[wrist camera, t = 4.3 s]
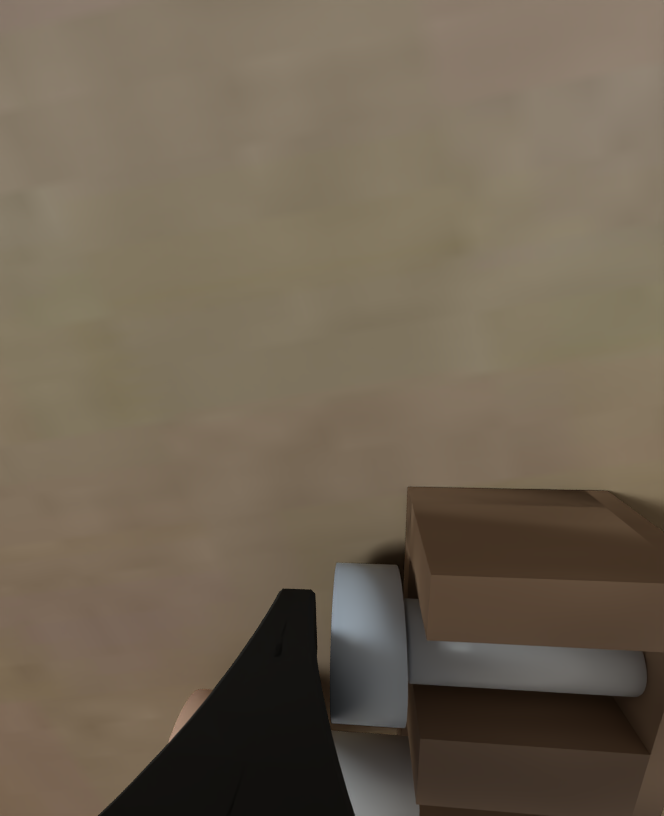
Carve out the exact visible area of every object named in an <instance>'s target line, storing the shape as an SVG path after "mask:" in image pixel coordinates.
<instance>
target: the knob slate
mask: <svg viewBox="0 0 664 816" xmlns="http://www.w3.org/2000/svg"><path fill="white" fill-rule="evenodd" d="M408 681H409V683H410V684H423V685H439V686H456V687H473V688H490V689H507V690H524V691H540V692H557V693H574V694H591V695H608V696H624V697H638V696H640V695H641V694H643V692H644V690H645V688H646V683H647V669H646V663H645V659H644V655H643V652H642V651H627V650H607V649H587V648H567V647H547V646H528V645H508V644H488V643H468V642H448V641H428V640H427V639H426V634H425V629H424V624H423V619H422V614H421V609H420V604H419V599H409V598H405V599H404V601H403V592H402V584H401V578H400V572H399V569H398V566H397V565H389V564H361V563H337V564H336V569H335V578H334V590H333V605H332V625H331V655H330V714H331V723H336V724H350V725H365V726H379V727H394V728H405V727H406V722H407V709H408Z"/></svg>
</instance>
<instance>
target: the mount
mask: <svg viewBox="0 0 664 816" xmlns="http://www.w3.org/2000/svg"><path fill="white" fill-rule="evenodd" d="M405 598H409V599H419V604H420V609H421V614H422V619H423V624H424V629H425V634H426V639H427V640H428V641H448V642H468V643H488V644H508V645H528V646H547V647H567V648H587V649H607V650H627V651H642V652H643V655H644V659H645V663H646V669H647V683H646V688H645V690H644V692H643V694H641V695H640V696H638V697H624V696H608V695H591V694H574V693H557V692H540V691H524V690H507V689H490V688H473V687H456V686H439V685H423V684H410V683H409V681H408V709H407V722H406V727H405V728H398V729H397V735H402V736H408V737H409V746H410V755H411V764H412V773H413V782H414V790H415V799H416V804H418V805H419V816H661V813H662V810H663V807H664V532H663V531H662V530H660V529H659V528H658V527H656V526H655V525H653V524H652V523H651V522H649V521H648V520H647V519H645V518H644V517H643V516H641V515H640V514H639V513H637V512H636V511H634V510H633V509H632V508H630V507H629V506H628V505H626V504H625V503H624V502H622V501H621V500H620V499H618V498H617V497H616V496H614V495H613V494H611V493H610V492H609V491H588V490H536V489H483V488H431V487H408V490H407V514H406V538H405V562H404V585H403V601H404V599H405Z"/></svg>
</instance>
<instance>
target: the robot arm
mask: <svg viewBox="0 0 664 816" xmlns="http://www.w3.org/2000/svg"><path fill="white" fill-rule="evenodd" d="M98 816H355V813H354V810H353V807H352V804H351V801H350V798H349V795H348V791H347V788H346V784H345V781H344V777H343V774H342V770H341V767H340V763H339V760H338V756H337V752H336V748H335V744H334V740H333V736H332V732H331V728H330V724H329V720H328V715H327V711H326V706H325V702H324V697H323V692H322V687H321V681H320V676H319V670H318V663H317V627H316V600H315V593H314V592H313V591H312V590H305V589H282V590H281V591H280V592H279V593H278V595H277V597H276V599H275V600H274V602H273V604H272V606H271V607H270V609H269V611H268V612H267V614H266V616H265V617H264V619H263V620H262V622H261V623H260V625H259V627H258V628H257V630H256V631H255V633H254V634H253V636H252V637H251V639H250V640H249V641H248V643H247V644H246V646H245V647H244V649H243V650H242V652H241V653H240V654H239V656H238V657H237V659H236V660H235V662H234V663H233V664H232V666H231V667H230V668H229V670H228V671H227V672H226V674H225V675H224V676H223V678H222V679H221V680H220V681H219V683H218V684H217V685H216V687H215V688H214V689H213V691H212V692H211V693H210V695H209V696H208V697H207V698H206V700H205V701H204V702H203V703H202V705H201V706H200V707H199V708H198V709H197V711H196V712H195V713H194V714H193V715H192V717H191V718H190V719H189V720H188V721H187V723H186V724H185V725H184V726H183V727H182V728H181V729H180V731H179V732H178V733H177V734H176V735H175V736H174V737H173V739H172V740H171V741H170V742H169V743H168V744H167V745H166V746H165V747H164V749H163V750H162V751H161V752H160V753H159V754H158V755H157V756H156V757H155V758H154V759H153V760H152V761H151V762H150V764H149V765H148V766H147V767H146V768H145V769H144V770H143V771H142V772H141V773H140V774H139V775H138V776H137V777H136V778H135V779H134V781H133V782H132V783H131V784H130V785H129V786H128V787H127V788H126V789H125V790H124V791H123V792H122V793H121V794H120V795H119V796H118V797H117V798H116V799H115V800H114V801H113V802H112V803H111V804H110V805H109V806H108V807H107V808H105V809H104V810H103V811H102V812H101V813H100V814H99V815H98Z"/></svg>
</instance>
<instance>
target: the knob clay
mask: <svg viewBox="0 0 664 816" xmlns="http://www.w3.org/2000/svg"><path fill="white" fill-rule="evenodd" d="M212 691H213V690H209V689H198V690H196V691H195V692H194V693H193V694H192V695H191V696H190V697H189V698H188V700H187V702H186V703H185V705H184V707H183V708H182V710H181V712H180V714H179V717H178V719H177V721H176V723H175V726H174V728H173V731H172V734H171V736H170V739H169V742H170V741H171V740H172V739H173V737H174V736H175V735H176V734H177V733H178V732H179V731H180V729H181V728H182V727H183V726H184V725H185V724H186V723H187V721H188V720H189V719H190V718H191V717H192V715H193V714H194V713H195V712H196V711H197V709H198V708H199V707H200V706H201V705H202V703H203V702H204V701H205V700H206V698H207V697H208V696H209V695H210V693H211V692H212ZM331 732H332V736H333V740H334V744H335V748H336V752H337V756H338V760H339V763H340V767H341V770H342V774H343V777H344V781H345V784H346V788H347V791H348V795H349V798H350V801H351V804H352V807H353V810H354V813H355V816H419V805H418V804H416V799H415V790H414V782H413V773H412V764H411V755H410V746H409V737H408V736H402V735H388V734H374V733H359V732H345V731H331ZM169 742H168V743H169Z"/></svg>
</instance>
